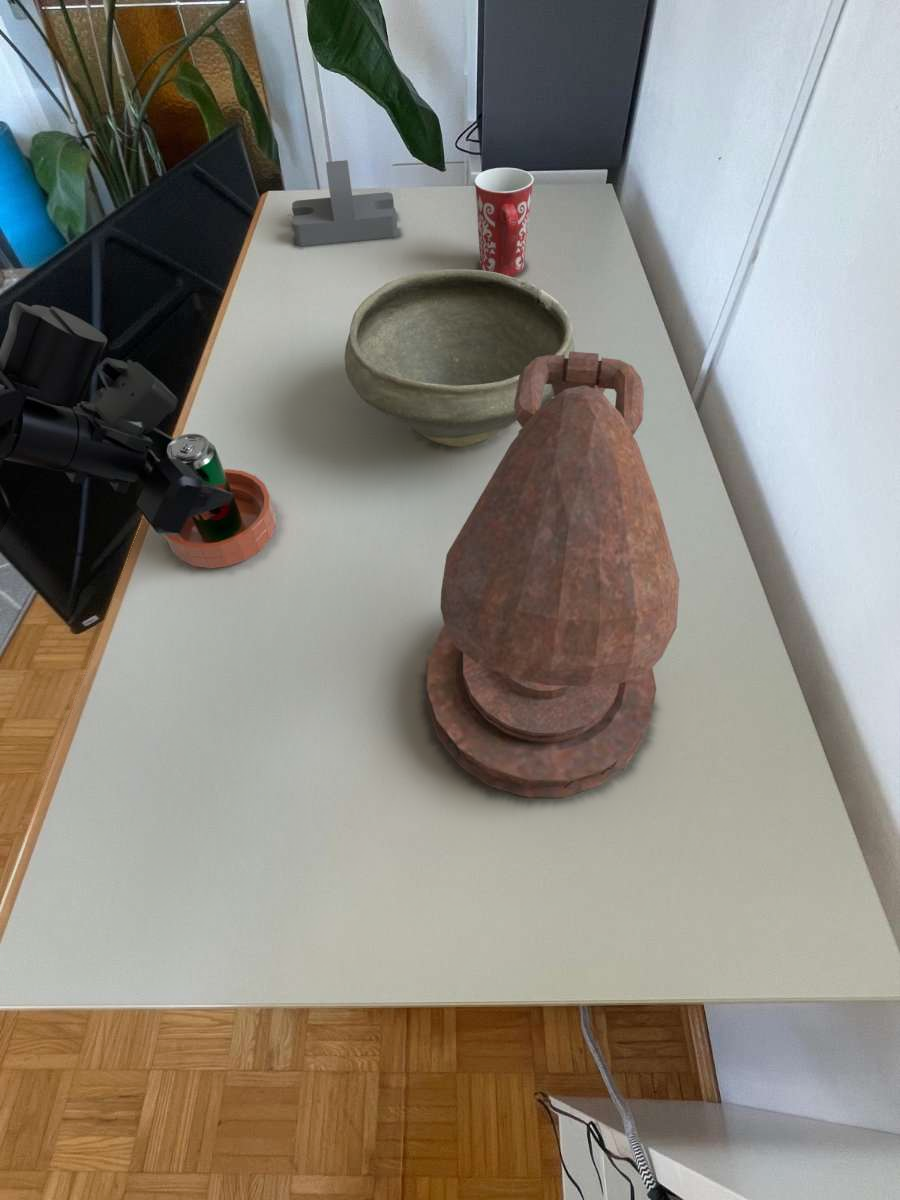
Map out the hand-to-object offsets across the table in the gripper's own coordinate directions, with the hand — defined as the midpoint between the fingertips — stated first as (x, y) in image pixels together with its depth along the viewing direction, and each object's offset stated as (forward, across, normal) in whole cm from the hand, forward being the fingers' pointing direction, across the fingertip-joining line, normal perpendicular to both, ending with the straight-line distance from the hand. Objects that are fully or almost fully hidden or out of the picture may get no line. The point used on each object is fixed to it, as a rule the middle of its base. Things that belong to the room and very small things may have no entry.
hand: (210, 475), depth 75 cm
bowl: (+29, -2, -18) cm, 34 cm away
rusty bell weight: (+13, -40, -2) cm, 42 cm away
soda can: (+5, 0, +6) cm, 8 cm away
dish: (+5, 0, +6) cm, 8 cm away
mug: (+50, +22, -38) cm, 66 cm away
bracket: (+42, +52, -31) cm, 74 cm away
